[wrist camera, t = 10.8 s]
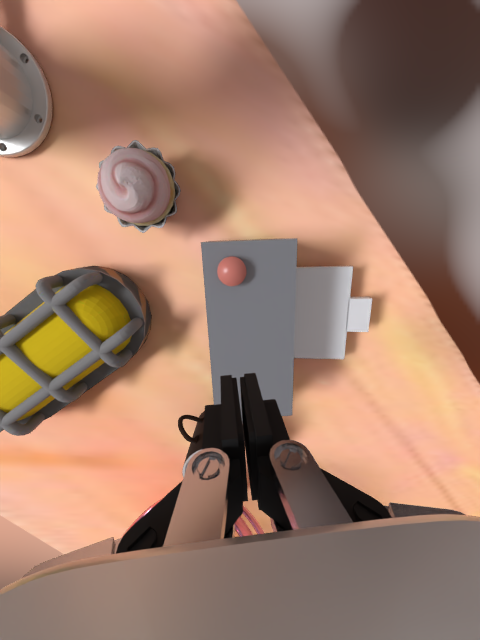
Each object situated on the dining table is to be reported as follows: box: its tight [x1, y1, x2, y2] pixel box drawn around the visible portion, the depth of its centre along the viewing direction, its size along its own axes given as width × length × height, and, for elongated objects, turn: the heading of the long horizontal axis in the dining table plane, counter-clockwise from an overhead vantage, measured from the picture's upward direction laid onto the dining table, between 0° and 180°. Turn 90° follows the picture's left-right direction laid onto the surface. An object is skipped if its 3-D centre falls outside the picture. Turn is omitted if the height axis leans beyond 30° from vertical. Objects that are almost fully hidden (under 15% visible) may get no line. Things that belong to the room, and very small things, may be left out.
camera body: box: [201, 239, 297, 417], centre depth 34 cm, size 25×10×11 cm, turn 2°
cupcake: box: [96, 140, 181, 233], centre depth 29 cm, size 9×9×10 cm
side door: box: [294, 266, 372, 359], centre depth 38 cm, size 14×1×13 cm
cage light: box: [0, 266, 151, 436], centre depth 35 cm, size 15×8×30 cm
